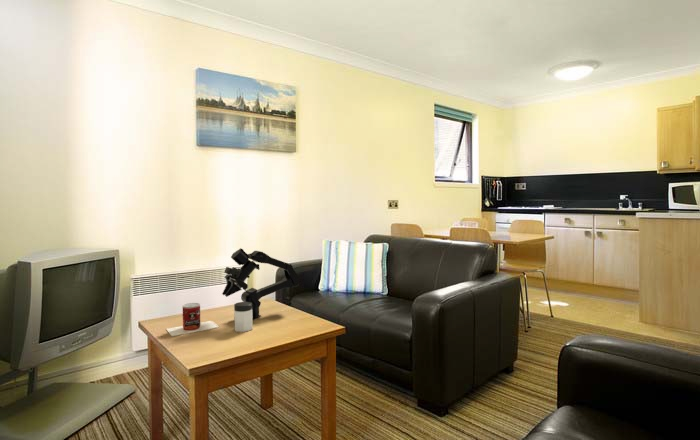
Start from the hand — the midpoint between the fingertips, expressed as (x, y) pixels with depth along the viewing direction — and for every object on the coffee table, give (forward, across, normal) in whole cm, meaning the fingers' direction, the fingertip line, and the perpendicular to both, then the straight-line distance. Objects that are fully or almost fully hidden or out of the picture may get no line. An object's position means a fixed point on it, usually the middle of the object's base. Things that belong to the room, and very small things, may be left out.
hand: (224, 295), depth 190 cm
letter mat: (+21, 0, -2) cm, 21 cm away
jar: (+7, +15, +12) cm, 21 cm away
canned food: (+20, 0, -2) cm, 21 cm away
